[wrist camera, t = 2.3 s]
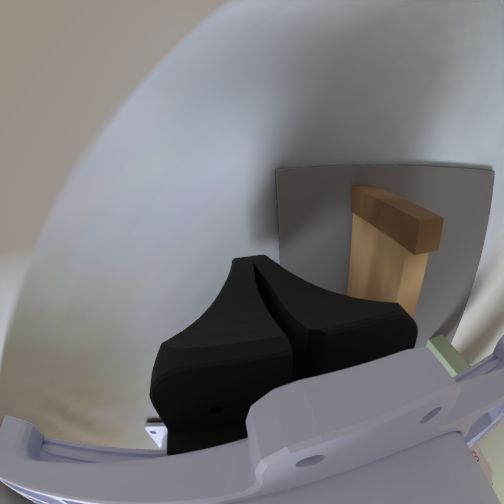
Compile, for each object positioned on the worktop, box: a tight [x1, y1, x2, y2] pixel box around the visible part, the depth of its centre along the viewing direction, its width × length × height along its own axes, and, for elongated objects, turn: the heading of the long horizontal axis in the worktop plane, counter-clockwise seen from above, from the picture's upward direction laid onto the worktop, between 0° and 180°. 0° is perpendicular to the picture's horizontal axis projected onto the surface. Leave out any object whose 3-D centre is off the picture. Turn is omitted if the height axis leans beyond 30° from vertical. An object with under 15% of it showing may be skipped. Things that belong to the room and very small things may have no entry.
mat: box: [275, 165, 495, 348], centre depth 16 cm, size 16×16×1 cm
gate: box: [346, 185, 444, 318], centre depth 12 cm, size 10×1×5 cm, turn 5°
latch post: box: [426, 334, 470, 377], centre depth 16 cm, size 2×2×6 cm
